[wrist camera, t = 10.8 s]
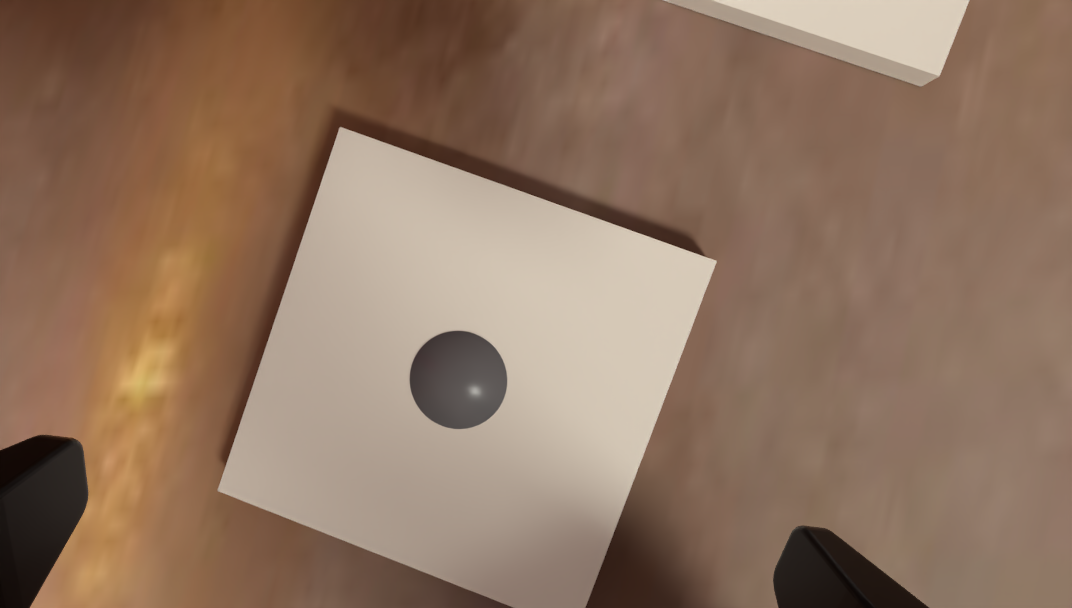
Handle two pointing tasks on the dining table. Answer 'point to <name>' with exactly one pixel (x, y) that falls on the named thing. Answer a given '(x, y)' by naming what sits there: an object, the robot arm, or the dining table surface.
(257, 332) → the dining table surface
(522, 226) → the one-dot tile
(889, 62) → the two-dot tile
